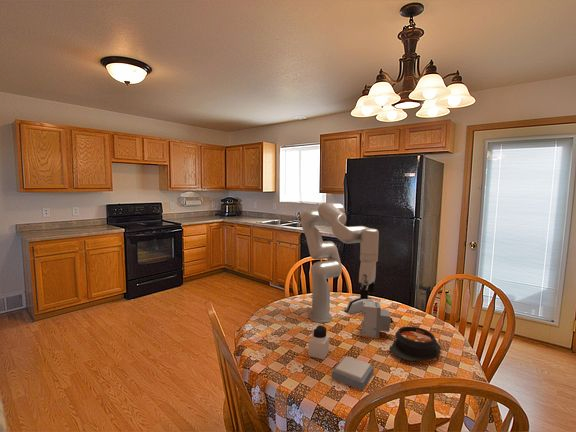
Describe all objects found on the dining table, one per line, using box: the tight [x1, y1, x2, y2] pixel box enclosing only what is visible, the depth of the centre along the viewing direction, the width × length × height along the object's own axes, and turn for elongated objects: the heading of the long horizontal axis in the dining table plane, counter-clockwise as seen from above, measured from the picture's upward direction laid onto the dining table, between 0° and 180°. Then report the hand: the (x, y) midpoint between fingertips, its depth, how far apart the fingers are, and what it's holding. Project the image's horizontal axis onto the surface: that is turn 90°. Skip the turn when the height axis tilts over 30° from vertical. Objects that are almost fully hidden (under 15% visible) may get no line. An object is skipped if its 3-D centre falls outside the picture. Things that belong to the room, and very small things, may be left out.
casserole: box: [388, 325, 442, 362], centre depth 132 cm, size 25×19×8 cm
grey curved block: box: [344, 296, 375, 315], centre depth 175 cm, size 17×5×10 cm, turn 114°
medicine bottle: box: [307, 324, 330, 361], centre depth 129 cm, size 7×7×12 cm
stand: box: [331, 355, 375, 391], centre depth 114 cm, size 12×12×4 cm
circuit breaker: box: [360, 301, 394, 339], centre depth 147 cm, size 8×14×15 cm, turn 78°
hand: (367, 295), depth 132 cm, fingers open, 9 cm apart
